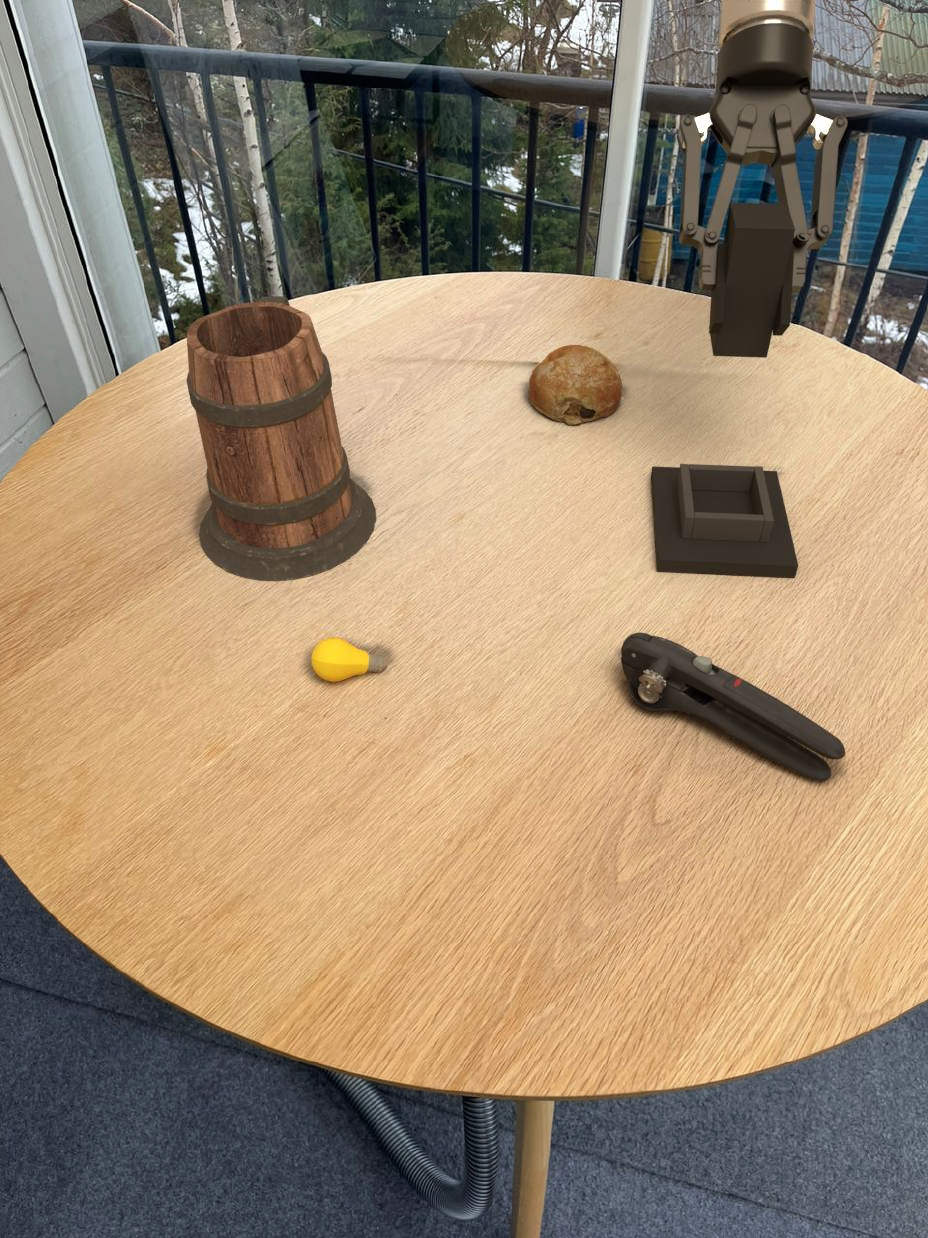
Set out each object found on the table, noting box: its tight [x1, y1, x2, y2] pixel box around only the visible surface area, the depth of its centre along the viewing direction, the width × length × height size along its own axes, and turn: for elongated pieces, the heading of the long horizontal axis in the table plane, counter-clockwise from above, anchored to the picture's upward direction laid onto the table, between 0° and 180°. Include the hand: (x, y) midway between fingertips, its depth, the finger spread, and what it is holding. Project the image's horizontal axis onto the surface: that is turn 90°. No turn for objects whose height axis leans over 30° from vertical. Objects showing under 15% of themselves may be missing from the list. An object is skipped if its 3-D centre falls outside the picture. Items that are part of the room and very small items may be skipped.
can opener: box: [620, 631, 846, 782], centre depth 69 cm, size 18×7×6 cm, turn 50°
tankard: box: [186, 295, 377, 582], centre depth 85 cm, size 24×17×20 cm
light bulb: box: [311, 636, 388, 682], centre depth 75 cm, size 3×6×4 cm, turn 96°
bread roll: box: [528, 344, 623, 426], centre depth 102 cm, size 10×10×8 cm
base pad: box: [650, 463, 799, 579], centre depth 86 cm, size 12×14×4 cm
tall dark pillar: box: [709, 202, 795, 359], centre depth 78 cm, size 4×5×11 cm
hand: (748, 328), depth 77 cm, fingers closed on tall dark pillar, 4 cm apart
